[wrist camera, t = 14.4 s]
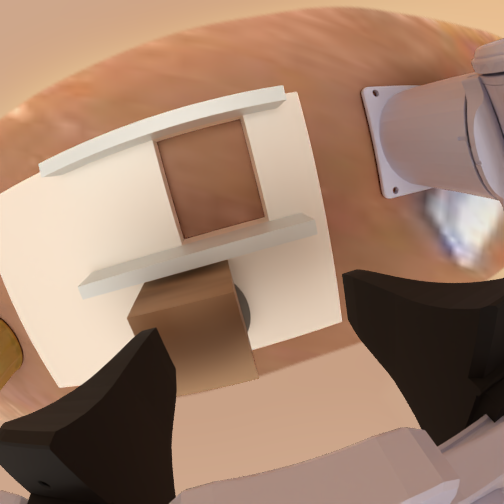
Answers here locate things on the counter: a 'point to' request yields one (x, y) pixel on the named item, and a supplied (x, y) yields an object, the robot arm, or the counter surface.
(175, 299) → the walnut block
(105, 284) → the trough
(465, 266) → the counter surface
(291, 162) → the board
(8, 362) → the vase
